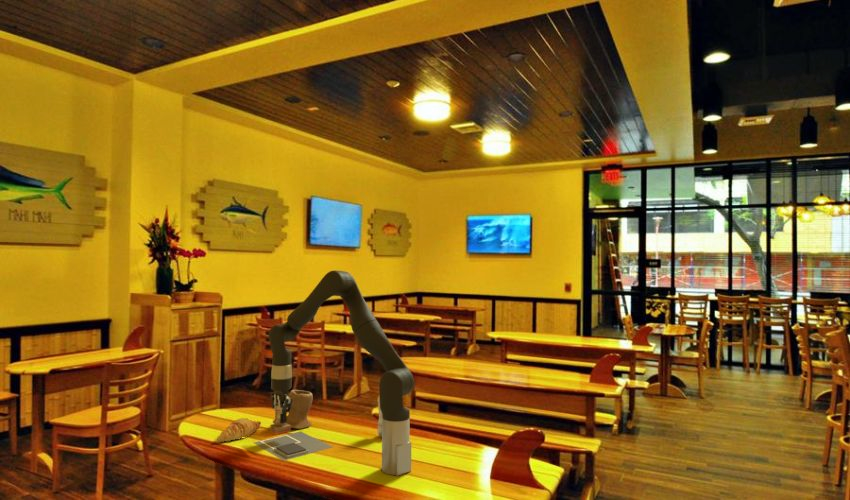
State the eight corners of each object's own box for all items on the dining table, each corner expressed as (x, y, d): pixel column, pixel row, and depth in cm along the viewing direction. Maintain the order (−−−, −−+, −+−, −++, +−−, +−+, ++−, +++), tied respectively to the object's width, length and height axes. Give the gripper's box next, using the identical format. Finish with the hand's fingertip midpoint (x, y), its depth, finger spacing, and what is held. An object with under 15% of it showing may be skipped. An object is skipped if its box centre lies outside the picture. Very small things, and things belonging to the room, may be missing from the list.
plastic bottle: (393, 439, 202) (393, 388, 202) (376, 439, 202) (376, 388, 202) (394, 434, 208) (395, 384, 209) (377, 434, 208) (378, 384, 209)
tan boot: (318, 425, 219) (319, 389, 220) (298, 433, 209) (299, 395, 209) (291, 419, 227) (292, 385, 227) (271, 427, 216) (272, 391, 217)
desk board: (333, 449, 191) (333, 443, 191) (283, 463, 177) (283, 456, 177) (300, 433, 208) (300, 428, 209) (253, 444, 195) (253, 439, 195)
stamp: (290, 431, 196) (291, 403, 196) (277, 434, 192) (277, 406, 192) (283, 427, 200) (284, 400, 200) (270, 430, 196) (270, 403, 197)
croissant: (222, 454, 194) (229, 437, 193) (206, 438, 199) (213, 421, 197) (264, 436, 213) (270, 421, 212) (248, 422, 217) (255, 406, 216)
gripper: (299, 378, 194) (298, 424, 194) (281, 372, 204) (281, 415, 204) (281, 380, 189) (280, 428, 188) (264, 374, 199) (263, 419, 199)
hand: (280, 421), depth 196 cm, fingers closed on stamp, 3 cm apart
